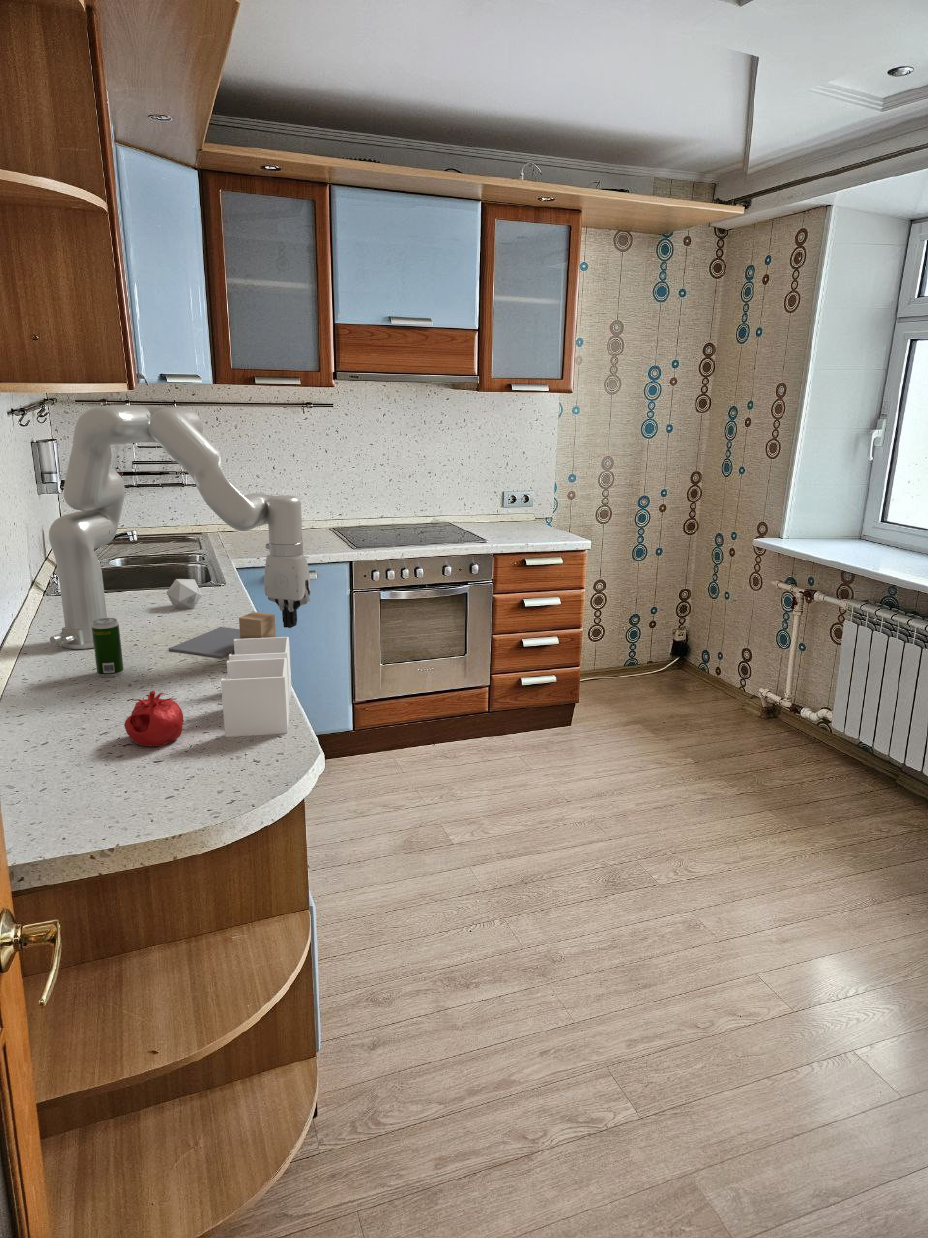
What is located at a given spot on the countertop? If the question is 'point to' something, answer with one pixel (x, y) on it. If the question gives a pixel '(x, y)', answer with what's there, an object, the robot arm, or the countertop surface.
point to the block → (257, 625)
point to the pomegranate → (154, 721)
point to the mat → (210, 643)
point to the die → (184, 593)
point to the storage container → (257, 687)
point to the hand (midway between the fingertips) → (290, 626)
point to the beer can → (107, 647)
